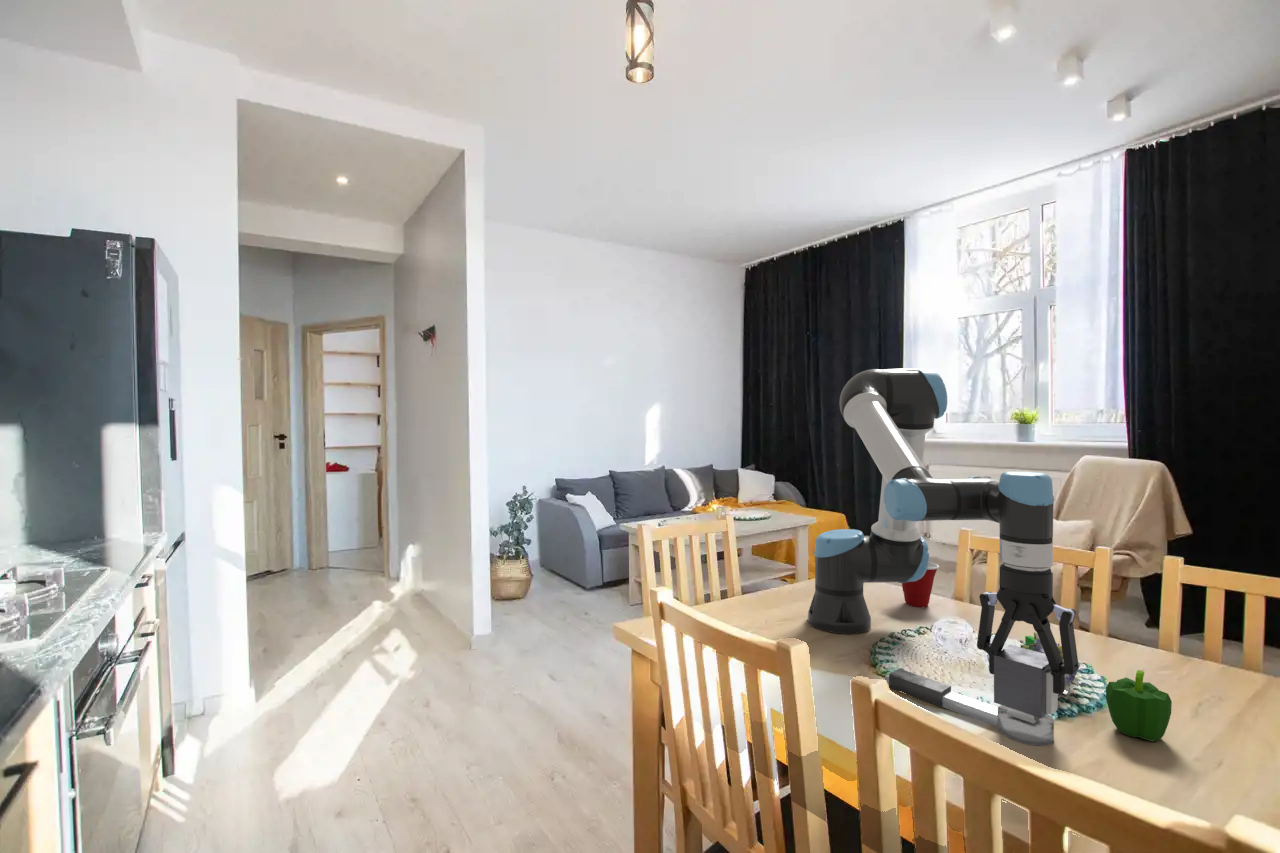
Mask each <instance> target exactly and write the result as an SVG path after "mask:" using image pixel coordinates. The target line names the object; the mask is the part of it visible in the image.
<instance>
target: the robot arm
mask: <svg viewBox="0 0 1280 853" xmlns="http://www.w3.org/2000/svg"><path fill="white" fill-rule="evenodd" d="M839 395H840V396H839V411H840V413H841V415H842V418H843V419H844V422H846V424H847V425H848V426H849V427H850V428H853V429H855V431H856V432H857V435H858V436H859V437H860V440H862V442H863V444H864V446H865V448H866V450H867V451H868V453H869V454H870V457H871V458H872V460H873V462H874V464H875V465H876V466H877V468H878V471H879V472H880V474H881V476H882V477H881V478H882V479H881V489H880V499H879V509H878V521H876V522H875V523H873V524H872V525H871V527H870V535H864V533H863V531H862V530H859V529H855V528H849V529H846V528H841V529H832V530H827V531H825V532H822V533H820V534H819V535H817V537H816V538H815V545H814V554H813V555H814V594H813V598H812V600H811V603H810V606H809V609H808V611H807V620H808V621H807V622H808V624H809V625H810V626H812V627H814V628H816V629H818V630H820V631H821V630H822V631H824V632H830V633H836V634H844V635H845V634H847V635H852V634H861V633H864V632H866V631H869V630H870V629H871V627H872V618H871V614H870V612H869V608H868V606H867V602H866V599H865V596H864V584H867V583H870V584H871V583H873V584H875V583H880V584H881V583H898V584H902V583H905V582H914V581H917V580H919V579H921V578H922V577H923V576H924V574H925V573H926V570H927V568H928V564H929V562H930V553H929V551H928V550H929V545H928V543H927V541H926V539H925V538H924V537H923V536H922V532H921V530H920V529H918V527H917V526H916V524H917V523H916V522H921V521H922V522H925V521H926V522H928V521H929V522H931V521H932V522H933V521H991V522H994V523H998V524H999V536H998V537H999V560H1000V562H1002V563H1001V564H999V567H998V568H999V569H998V570H999V571H998V572H999V575H998V576H999V579H998V580H999V581H998V582H999V583H998V584H999V587H998V590H997V592H992V591H989V590H987V591H985V592H983V593H980V594H979V601H980V606H981V610H980V617H979V618H980V619H979V626H978V632H977V633H978V634H977V640H976V641H977V642H976V648H977V649H978V650H981V651H984V652H985V653H986V654H987V655H988V671H989V673H990V674H991V675H992V676H994V655H995V654H997V653H998V652H1000V651H1002V650H1003V649H1004V647H1005V644H1006V641H1007V639H1008V637H1009V635H1010V633H1011V630H1013V626H1014V625H1015V623H1016V622H1024V623H1026V624H1028V625H1032V627H1033V629H1034V632H1035V633H1037V634H1038V636H1039V639H1040V642H1041V644H1042V647H1043V649H1044V652H1045V655H1046V657H1047V660H1048V662H1049V665H1050V668H1051V670H1050V671H1048V672H1047V673H1046V713H1047V714H1049V715H1050V716H1052V715H1053V714H1054V713H1055V712H1057V711H1058V709H1059V708H1058V706H1059V705H1058V704H1059V703H1058V702H1059V701H1058V698H1059V696H1060V695H1063V694H1062V693H1063V692H1064V690H1065V684H1064V683H1065V674H1069V675H1072V674H1073V673H1075V672H1076V671H1077V670H1078V671H1079V669H1080V667H1079V664H1078V662H1079V659H1078V650H1077V644H1076V637H1075V635H1076V634H1075V628H1074V622H1075V618H1076V614H1077V611H1076V610H1075V609H1074V608H1066V607H1063V606H1061V605H1058V604H1057V602H1056V600H1055V599H1054V595H1053V594H1054V593H1053V592H1054V578H1053V577H1054V572H1053V570H1052V569H1051V567H1053V566H1054V542H1053V541H1054V540H1053V539H1054V538H1053V537H1054V502H1055V496H1054V494H1053V492H1054V491H1053V479H1052V477H1051V476H1050V475H1048V474H1047V473H1043V472H1035V471H1004V472H1003V473H1001V474H1000V475H999V479H997V478H992V477H991V476H987V475H985V476H984V475H983V476H980V475H979V476H977V475H976V476H973V475H972V476H969V477H968V478H933V476H932V475H931V473H930V472H929V471H928V469H927V468H926V466H925V465H924V464H923V459H924V453H925V452H924V451H925V450H924V449H925V442H926V434H927V433H928V432H930V431H931V430H933V429H934V425H935V420H937V419H939V418H941V417H943V416H944V415H945V413H946V412H947V409H948V408H947V407H948V392H947V388H946V385H945V382H944V380H943V378H942V377H941V375H940V374H939V373H938V372H937V371H935V370H932V369H927V368H926V369H925V368H916V367H915V368H913V367H912V368H887V369H886V368H884V369H879V368H872V369H871V368H870V369H866V370H863V371H861V372H859V373H856V374H855V375H854V376H852V377H851V378H850V379H849V380H848V381H847V382H846V384H845V385H844V386H843V388H842V390H841V392H840V394H839ZM998 602H999V604H1000V605H1001V606H1002V608H1003V610H1004V613H1003V615H1002V618H1000V619H1001V621H1000V622H999V625H998V628H997V629H996V632H995V635H994V637H993V638H992V634H993V633H992V632H993V624H994V618H995V610H996V605H997V603H998ZM1052 613H1054V614H1055V617H1056V620H1057V621H1059V623H1058V624H1059V625H1058V627H1059V636H1060V643H1061V645H1060V646H1062V652H1063V660H1064V662H1063V660H1062V657H1061V654H1060V652H1059V649H1058V647H1057V645H1058V643H1057V642H1056V639H1055V637H1054V634H1053V632H1052V629H1051V623H1050V620H1049V618H1048V617H1049V616H1050V614H1052ZM991 638H992V639H991ZM991 640H992V641H991ZM1056 643H1057V644H1056ZM1058 695H1059V696H1058Z"/></svg>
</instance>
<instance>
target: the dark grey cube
mask: <svg viewBox="0 0 1280 853" xmlns="http://www.w3.org/2000/svg"><path fill="white" fill-rule="evenodd" d="M1050 670H1051V668H1050V665H1049V662H1048V660H1047V657H1046V655H1045V654H1044V653H1040V652H1036V651H1032V650H1028V649H1025V648H1021V646H1016V645H1013V644H1010V645H1008V646H1007V647H1005V648H1002V650H1001V651H1000V652H998V653H997V654H995V655H994V675H993V703H995V704H998V705H999V706H1000V705H1003V706H1006V707H1009V708H1012V709H1015V710H1018V711H1021V712H1024V713H1027V714H1030V715H1033V716H1036V717H1038V718H1043V717H1044V716H1045V715H1046V714H1048V713H1046V673H1047V672H1048V671H1050Z"/></svg>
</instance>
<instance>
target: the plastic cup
mask: <svg viewBox="0 0 1280 853" xmlns="http://www.w3.org/2000/svg"><path fill="white" fill-rule="evenodd" d="M939 568H940V565H939V564H938V563H934V562H932V561H929V564H928V568H927V570H926V573H925V574H924V576H923V577H922V578H921V579H919V580H917V581H914V582H905V583H901V586H902V587H901V588H902V592H903V596H904V601H905V604H906V605H907V606H909V607H912V608H926V607H928V606H929V604H930V599H931V595H932V591H933V590H932V589H933V585H934V580H935V576H936V573H937V570H938V569H939Z"/></svg>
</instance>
